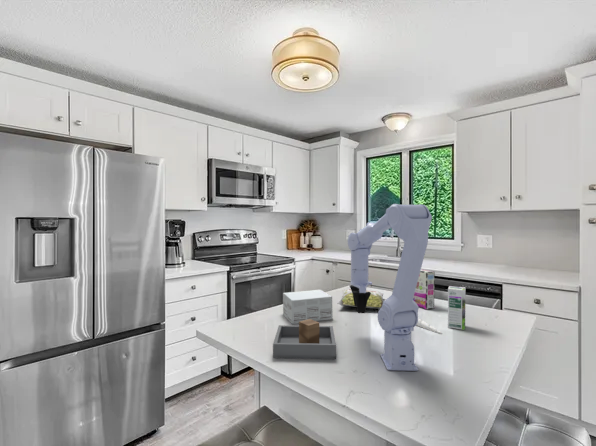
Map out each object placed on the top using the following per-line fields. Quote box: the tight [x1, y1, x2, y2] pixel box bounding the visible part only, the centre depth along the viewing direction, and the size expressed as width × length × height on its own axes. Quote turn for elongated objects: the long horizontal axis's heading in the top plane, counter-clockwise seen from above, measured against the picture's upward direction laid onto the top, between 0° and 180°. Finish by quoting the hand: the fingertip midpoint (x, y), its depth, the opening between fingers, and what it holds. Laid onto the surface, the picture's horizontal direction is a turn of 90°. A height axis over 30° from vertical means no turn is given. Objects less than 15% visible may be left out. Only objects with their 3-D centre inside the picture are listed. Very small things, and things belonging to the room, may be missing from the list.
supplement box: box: [282, 289, 333, 325], centre depth 132 cm, size 17×13×9 cm
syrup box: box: [447, 285, 466, 331], centre depth 120 cm, size 6×6×14 cm
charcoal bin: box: [272, 324, 337, 360], centre depth 102 cm, size 16×18×4 cm
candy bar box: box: [413, 268, 436, 310], centre depth 147 cm, size 11×5×16 cm, turn 25°
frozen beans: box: [337, 288, 384, 310], centre depth 150 cm, size 21×6×25 cm
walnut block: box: [298, 319, 320, 344], centre depth 102 cm, size 4×4×7 cm
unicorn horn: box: [415, 317, 443, 334], centre depth 123 cm, size 5×24×5 cm, turn 23°
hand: (359, 309), depth 110 cm, fingers open, 7 cm apart
